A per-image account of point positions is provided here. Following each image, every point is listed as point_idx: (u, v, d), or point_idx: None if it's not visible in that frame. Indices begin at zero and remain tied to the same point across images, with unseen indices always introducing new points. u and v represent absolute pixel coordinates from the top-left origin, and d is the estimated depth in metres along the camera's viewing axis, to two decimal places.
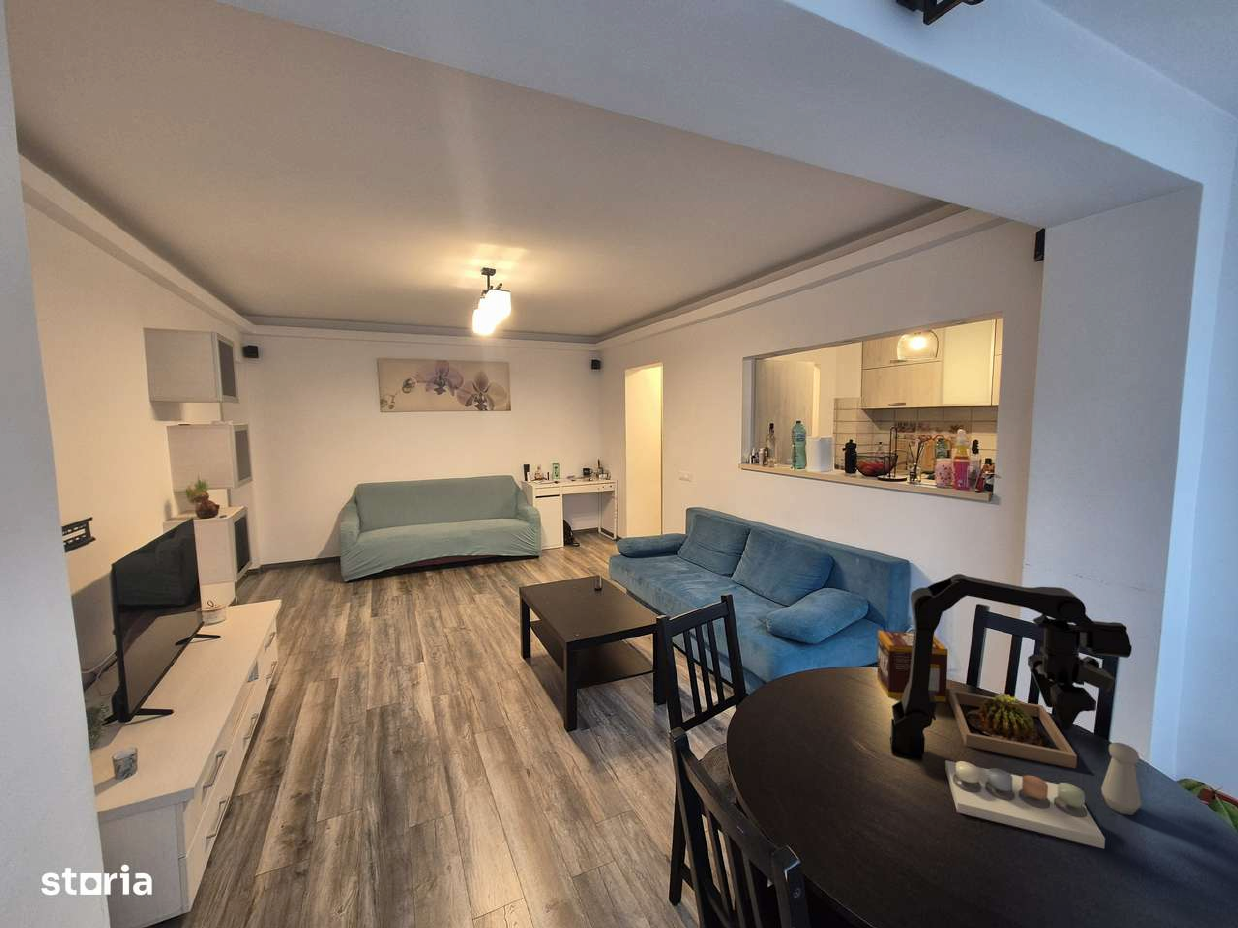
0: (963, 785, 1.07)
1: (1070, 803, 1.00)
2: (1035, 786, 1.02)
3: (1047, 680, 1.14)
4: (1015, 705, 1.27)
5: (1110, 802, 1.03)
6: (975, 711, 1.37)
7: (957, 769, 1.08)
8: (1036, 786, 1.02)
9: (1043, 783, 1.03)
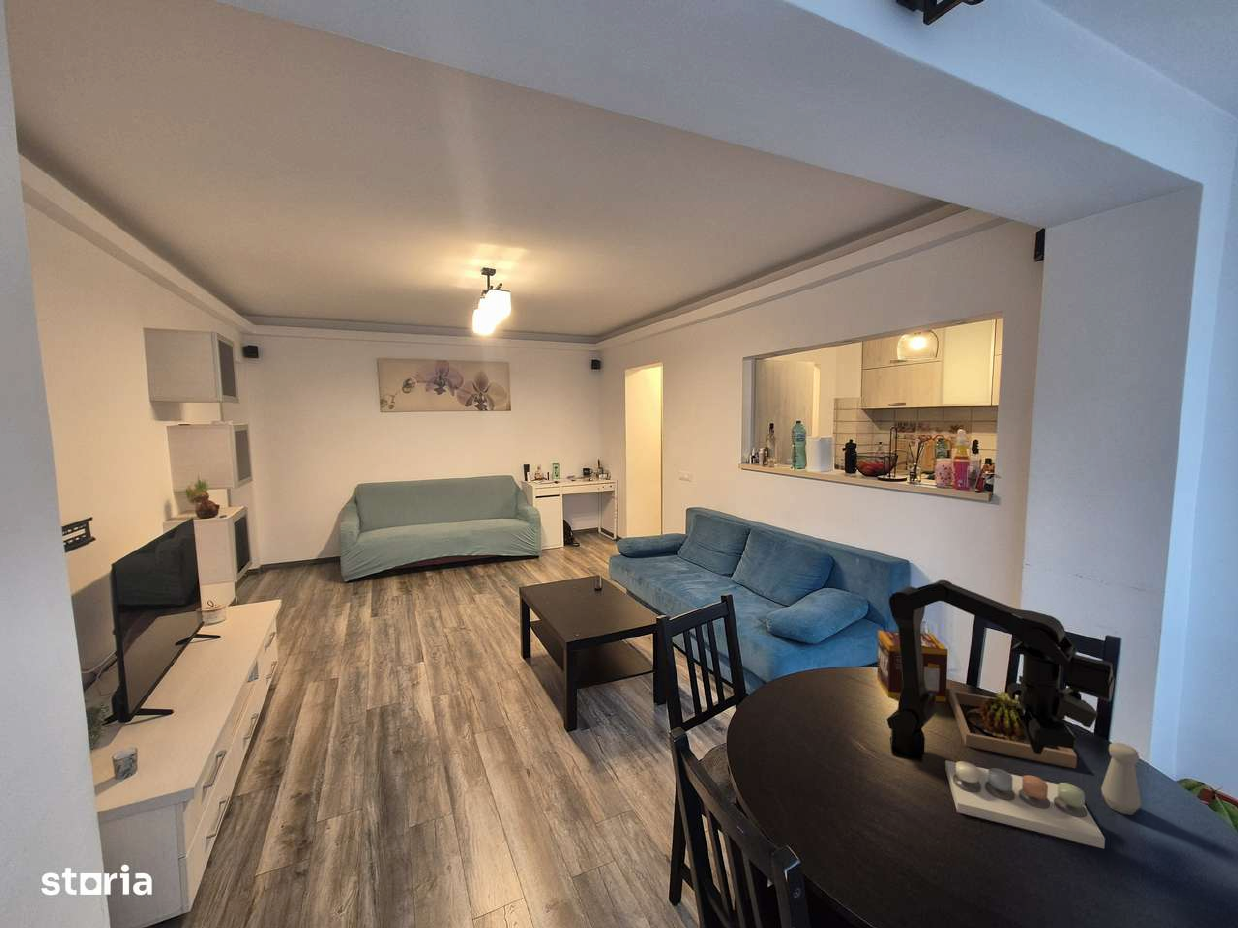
0: (963, 785, 1.07)
1: (1070, 803, 1.00)
2: (1035, 786, 1.02)
3: None
4: (1016, 703, 1.27)
5: (1110, 802, 1.03)
6: (976, 710, 1.38)
7: (957, 769, 1.08)
8: (1036, 786, 1.02)
9: (1043, 783, 1.03)
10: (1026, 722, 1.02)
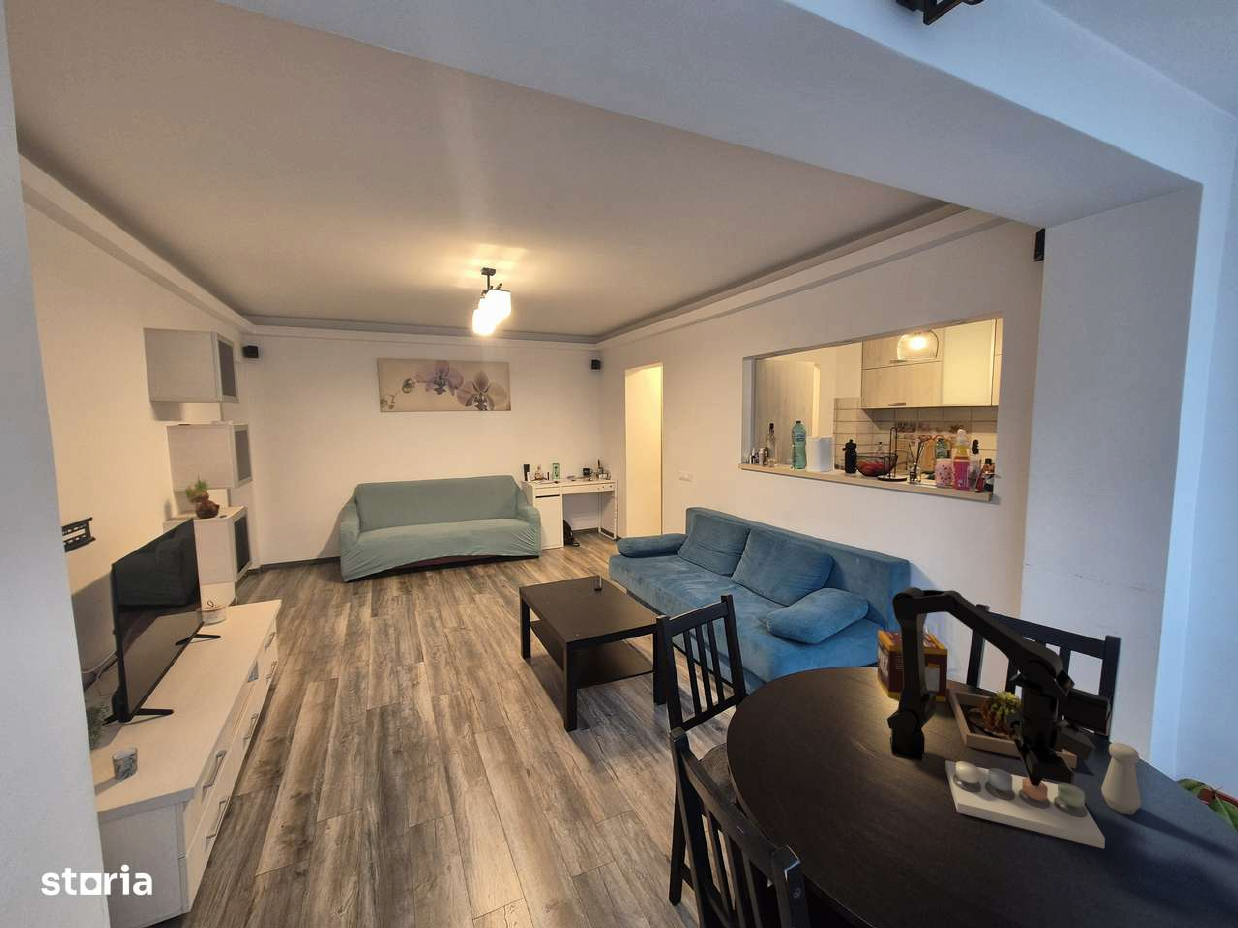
0: (963, 785, 1.07)
1: (1070, 803, 1.00)
2: (1035, 788, 1.02)
3: None
4: (1016, 703, 1.28)
5: (1110, 802, 1.03)
6: (976, 709, 1.38)
7: (957, 769, 1.08)
8: (1036, 788, 1.02)
9: (1043, 785, 1.03)
10: (1024, 754, 1.02)
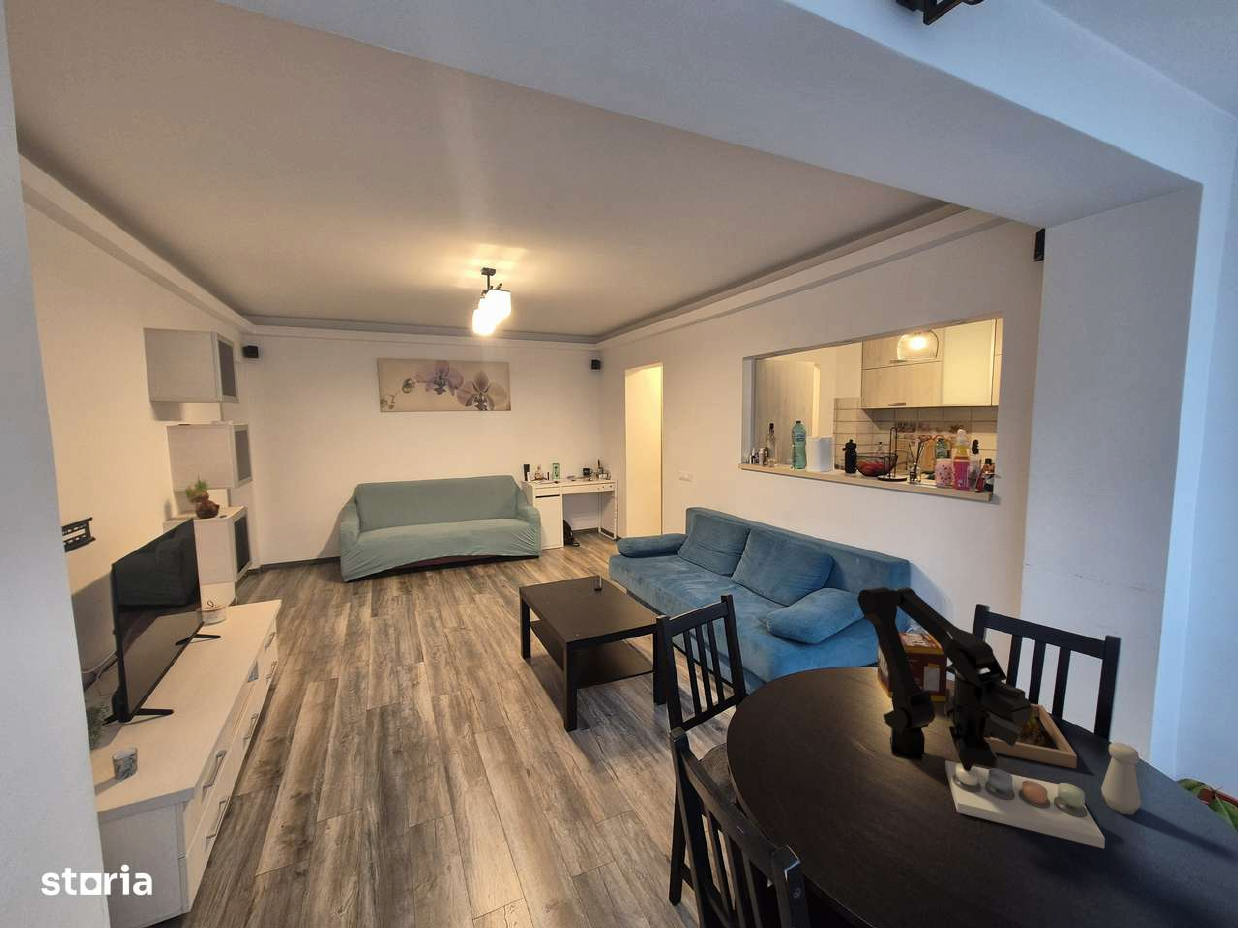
0: (963, 785, 1.07)
1: (1070, 803, 1.00)
2: (1035, 791, 1.02)
3: None
4: None
5: (1110, 802, 1.03)
6: None
7: (957, 771, 1.08)
8: (1036, 791, 1.02)
9: (1043, 789, 1.03)
10: (956, 740, 1.07)
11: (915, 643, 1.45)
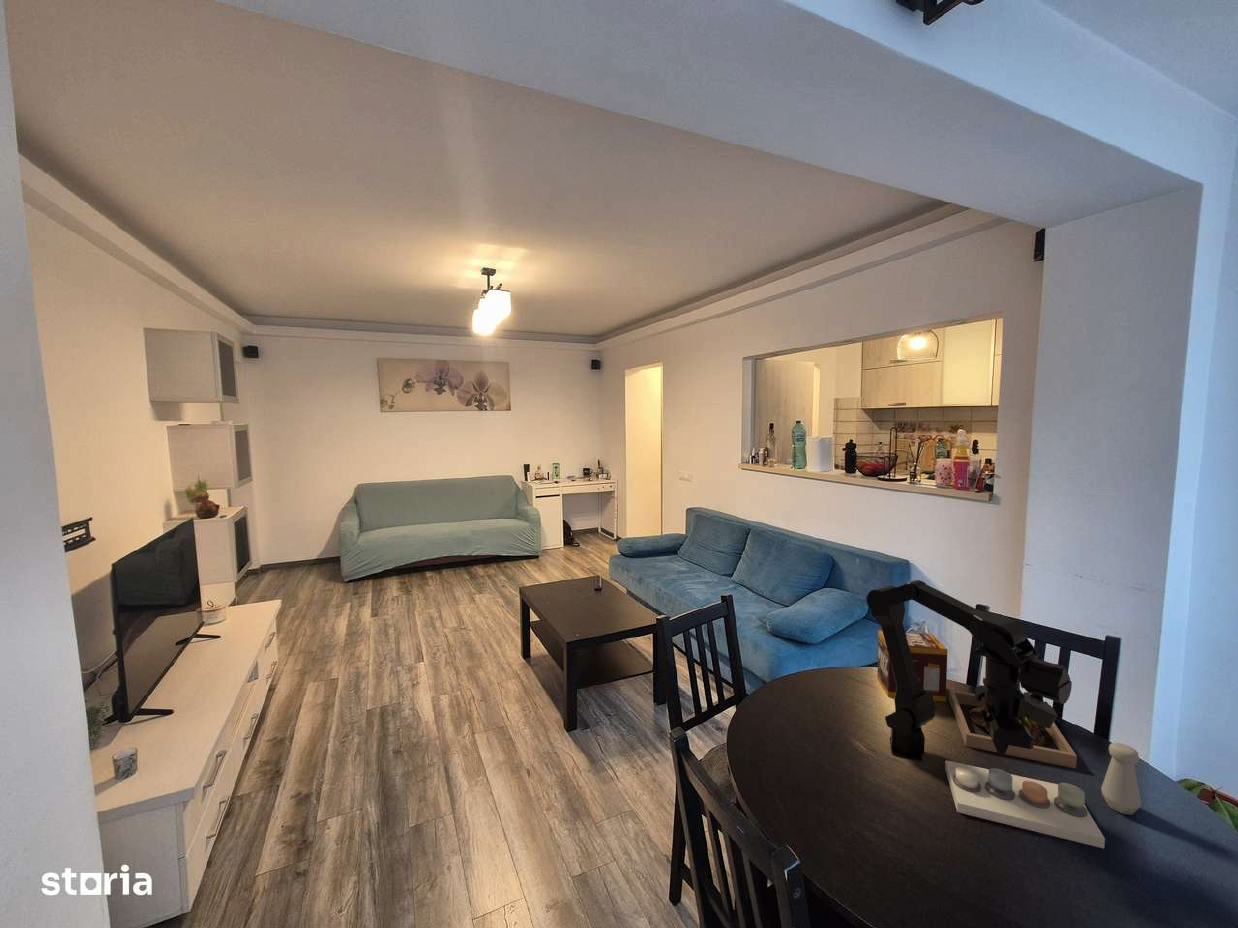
0: None
1: (1070, 803, 1.00)
2: (1035, 791, 1.02)
3: None
4: None
5: (1110, 802, 1.03)
6: (977, 709, 1.38)
7: (957, 774, 1.08)
8: (1036, 791, 1.02)
9: (1043, 789, 1.03)
10: (989, 723, 1.04)
11: (915, 643, 1.45)
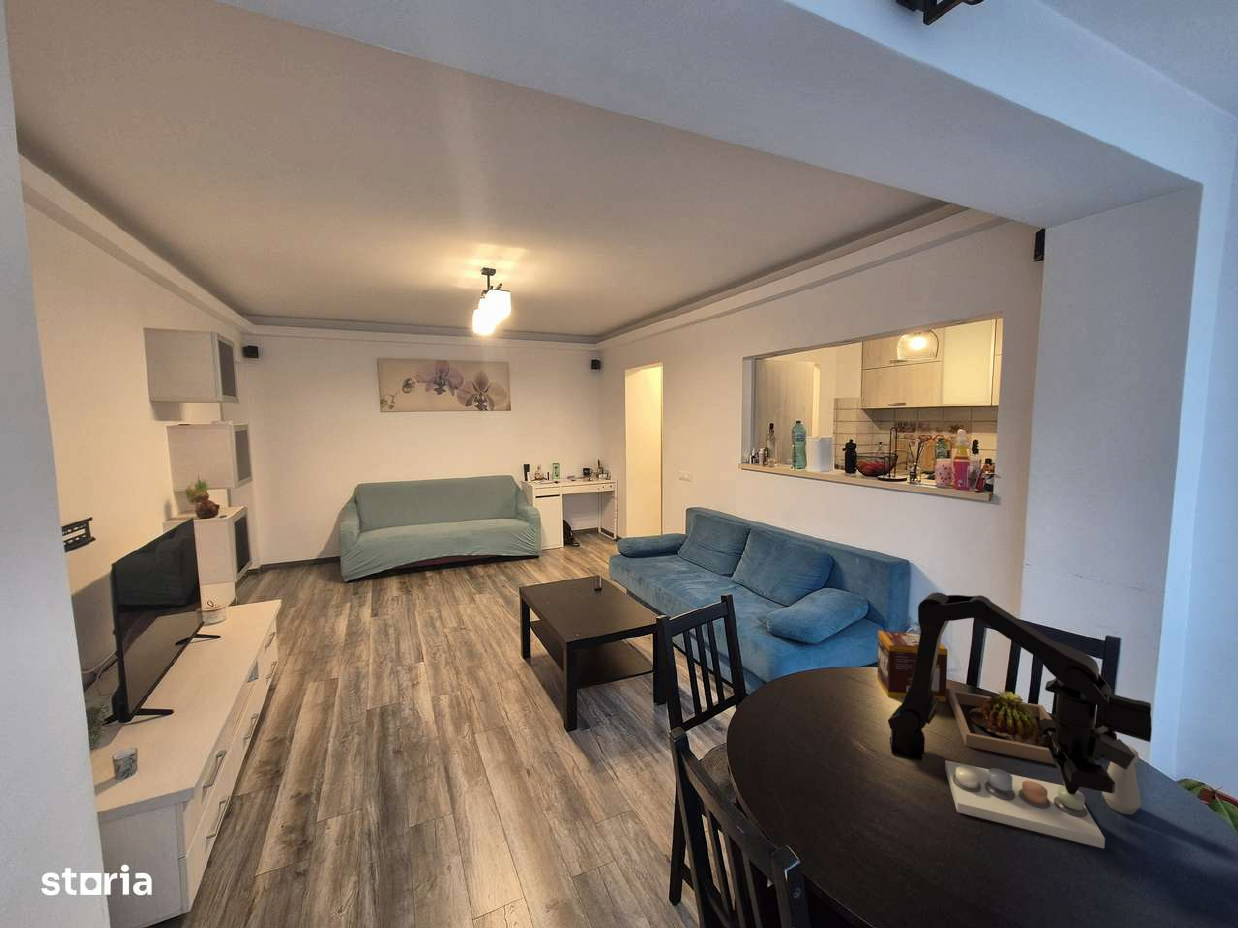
0: None
1: (1070, 806, 1.00)
2: (1035, 791, 1.02)
3: None
4: (1018, 702, 1.28)
5: (1110, 802, 1.03)
6: (977, 709, 1.38)
7: (957, 774, 1.08)
8: (1036, 791, 1.02)
9: (1043, 789, 1.03)
10: (1060, 762, 1.00)
11: (915, 643, 1.45)
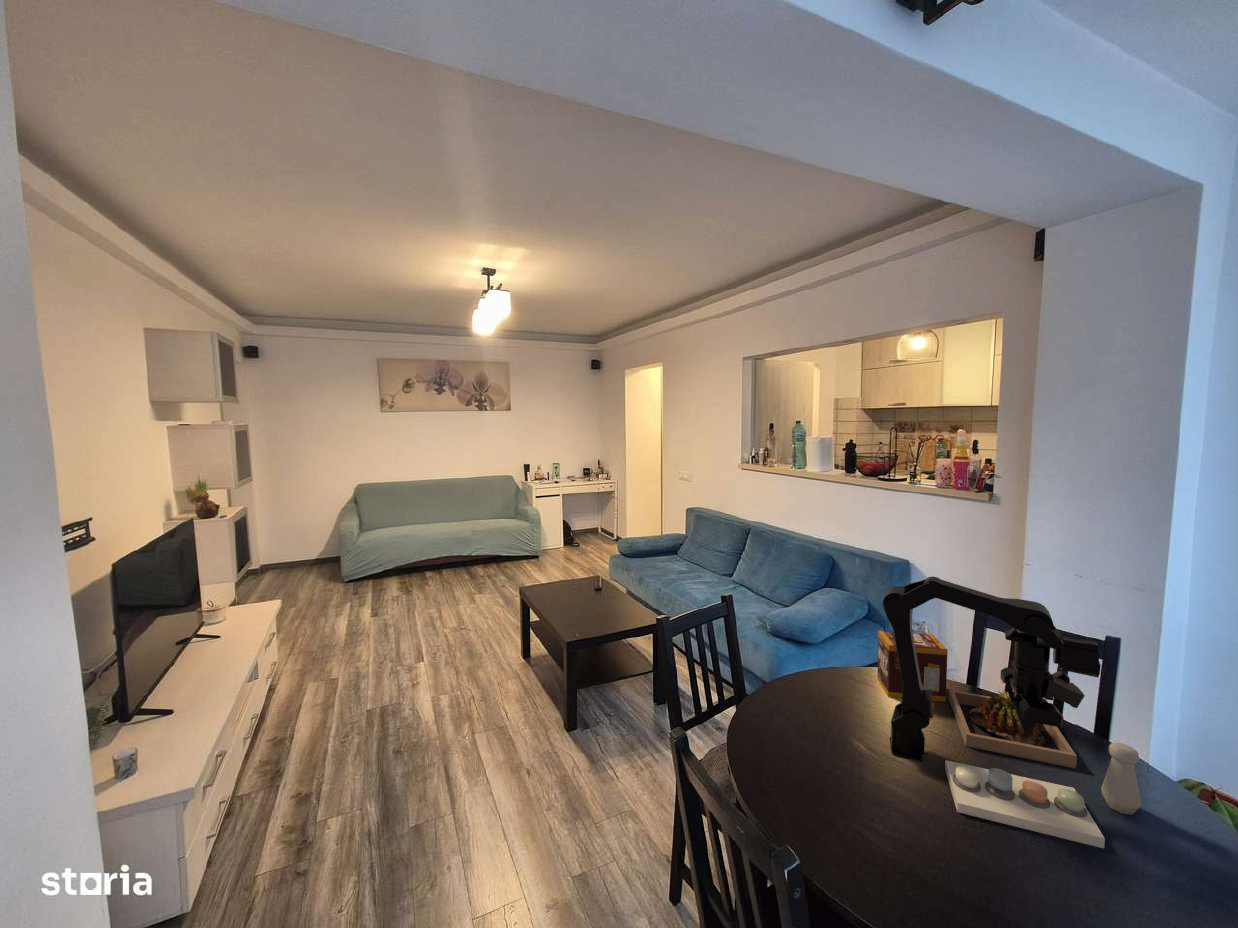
0: None
1: (1070, 809, 1.00)
2: (1035, 791, 1.02)
3: None
4: None
5: (1110, 802, 1.03)
6: (977, 709, 1.38)
7: (957, 774, 1.08)
8: (1036, 791, 1.02)
9: (1043, 789, 1.03)
10: (1017, 703, 1.08)
11: (915, 643, 1.45)
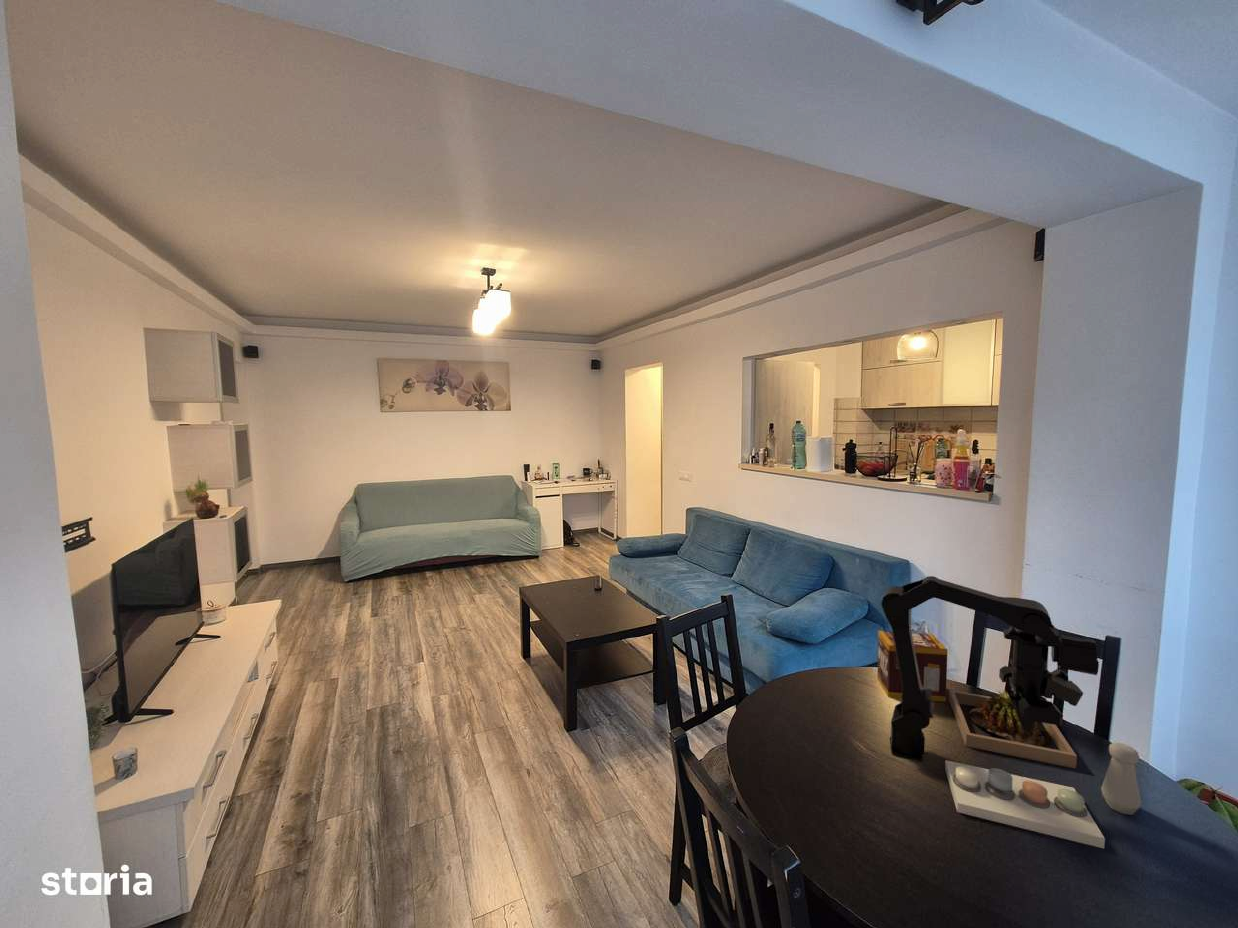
0: None
1: (1070, 809, 1.00)
2: (1035, 791, 1.02)
3: None
4: None
5: (1110, 802, 1.03)
6: (977, 709, 1.38)
7: (957, 774, 1.08)
8: (1036, 791, 1.02)
9: (1043, 789, 1.03)
10: (1016, 702, 1.08)
11: (915, 643, 1.45)
